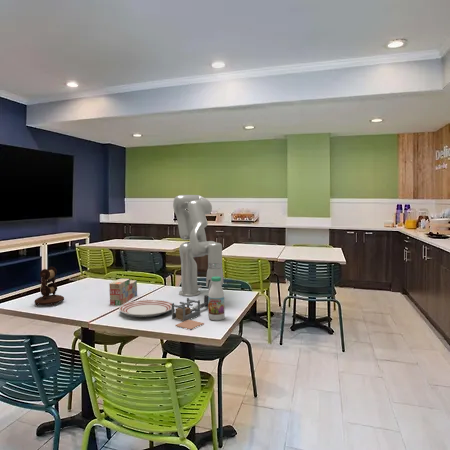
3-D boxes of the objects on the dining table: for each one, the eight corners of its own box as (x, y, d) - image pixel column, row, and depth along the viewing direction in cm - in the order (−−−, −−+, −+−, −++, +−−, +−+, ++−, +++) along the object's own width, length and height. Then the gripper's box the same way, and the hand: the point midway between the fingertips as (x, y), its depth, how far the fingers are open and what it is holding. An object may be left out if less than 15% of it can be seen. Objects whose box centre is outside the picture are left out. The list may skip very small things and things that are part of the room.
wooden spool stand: (44, 299, 206) (42, 265, 205) (69, 300, 206) (67, 265, 204) (28, 307, 192) (27, 270, 190) (55, 307, 191) (54, 270, 190)
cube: (182, 316, 176) (182, 306, 176) (190, 317, 173) (190, 307, 173) (175, 318, 172) (175, 308, 172) (183, 320, 169) (183, 310, 169)
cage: (188, 312, 182) (188, 297, 181) (200, 315, 177) (200, 300, 177) (171, 318, 172) (171, 303, 171) (184, 321, 167) (183, 306, 167)
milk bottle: (208, 315, 176) (207, 275, 175) (223, 315, 177) (223, 275, 175) (208, 321, 168) (208, 279, 167) (225, 320, 169) (224, 278, 168)
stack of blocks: (127, 295, 216) (127, 275, 215) (137, 295, 215) (136, 275, 214) (109, 305, 195) (109, 283, 194) (120, 306, 194) (119, 283, 193)
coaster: (188, 320, 169) (188, 319, 169) (203, 324, 164) (203, 323, 164) (175, 326, 162) (175, 324, 162) (190, 330, 157) (190, 328, 157)
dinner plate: (140, 302, 201) (140, 296, 201) (183, 307, 191) (183, 301, 191) (107, 317, 175) (107, 310, 175) (155, 324, 165) (155, 317, 165)
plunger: (205, 306, 191) (205, 295, 191) (213, 307, 188) (213, 296, 188) (183, 314, 177) (183, 302, 176) (191, 316, 174) (191, 304, 174)
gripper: (217, 263, 201) (217, 295, 202) (200, 267, 189) (201, 301, 190) (228, 264, 197) (228, 297, 198) (212, 268, 184) (212, 303, 186)
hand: (215, 299), depth 194 cm, fingers closed
